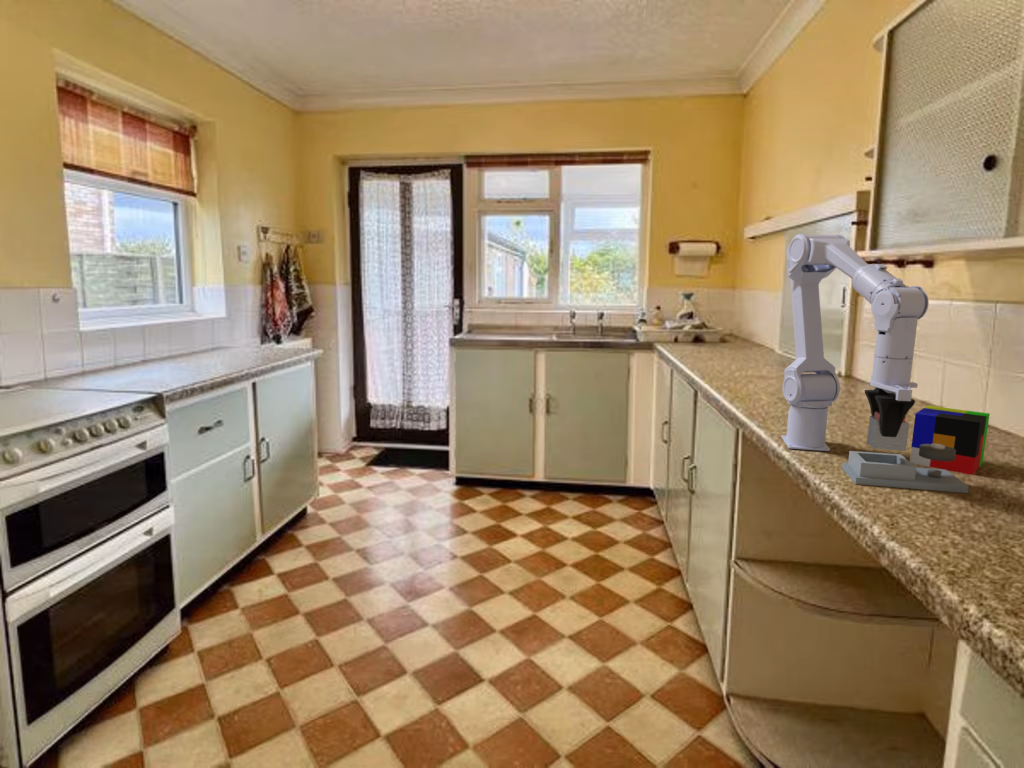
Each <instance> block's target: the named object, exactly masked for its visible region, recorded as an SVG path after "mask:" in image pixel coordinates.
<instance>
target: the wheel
mask: <svg viewBox="0 0 1024 768" xmlns="http://www.w3.org/2000/svg"><path fill="white" fill-rule="evenodd" d="M955 455H956V450H955V449H954V448H951V447H948V446H944V445H941V444H921V445H920V448H919V456H921V457H923V458H927V459H931V460H936V461H954V460H955Z"/></svg>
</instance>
